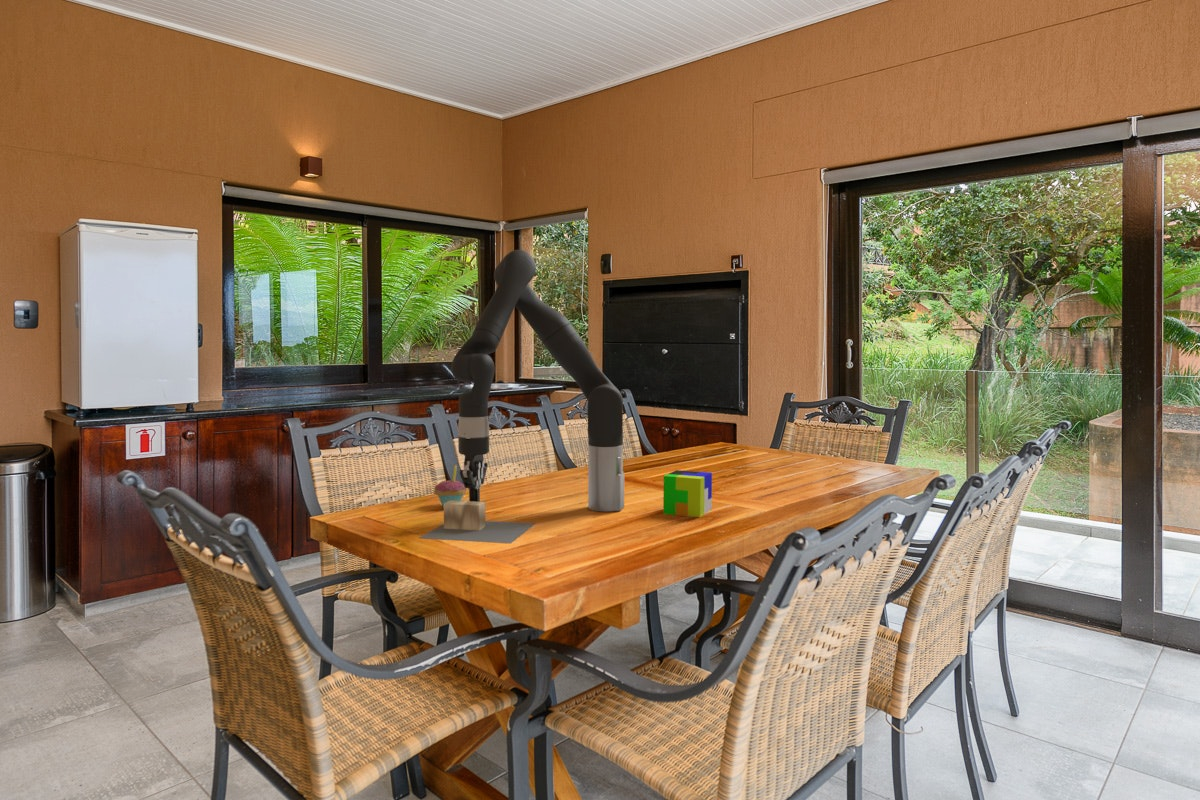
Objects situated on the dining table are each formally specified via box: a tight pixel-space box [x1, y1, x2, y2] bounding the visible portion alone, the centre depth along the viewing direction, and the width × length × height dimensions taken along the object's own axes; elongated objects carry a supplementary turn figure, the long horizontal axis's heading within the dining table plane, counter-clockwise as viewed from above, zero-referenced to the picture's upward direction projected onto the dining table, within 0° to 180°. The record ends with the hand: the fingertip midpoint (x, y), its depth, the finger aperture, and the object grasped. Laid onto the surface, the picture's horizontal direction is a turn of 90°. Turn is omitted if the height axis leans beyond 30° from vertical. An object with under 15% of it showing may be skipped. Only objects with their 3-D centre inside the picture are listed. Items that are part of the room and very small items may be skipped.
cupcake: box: [433, 462, 467, 508], centre depth 209 cm, size 9×8×12 cm
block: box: [443, 500, 487, 530], centre depth 184 cm, size 6×4×9 cm
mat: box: [418, 520, 537, 544], centre depth 181 cm, size 22×19×1 cm
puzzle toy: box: [662, 469, 713, 518], centre depth 202 cm, size 10×10×10 cm
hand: (474, 503), depth 190 cm, fingers closed
